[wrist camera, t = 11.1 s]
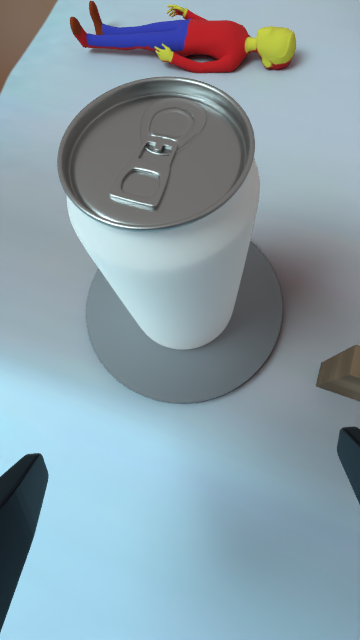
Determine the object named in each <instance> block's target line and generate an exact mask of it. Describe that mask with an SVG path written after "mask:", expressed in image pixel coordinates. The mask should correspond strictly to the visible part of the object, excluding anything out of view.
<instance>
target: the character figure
mask: <svg viewBox="0 0 360 640" xmlns="http://www.w3.org/2000/svg"><path fill="white" fill-rule="evenodd" d="M167 7H173V8H171V9H170V10H169V11H168V12H167V13H169V12H170V11H172V10H174V11H172V12H171V13H170V15H169V16H171V15H172V14H173V13H175V14H174V15H173V16H172V17H174V16H175V15H181V16H183V18H184V19H186V20H175V21H166V22H158V23H152V24H148V25H143V26H137V27H122V28H118V27H112V26H108V25H105V24H102V21H101V19H100V16H99V13H98V9H97V6H96V4H95V3H94V2H93V1H90V2H89V10H90V15H91V18H92V20H93V22H94V26H95V31H96V35H93V34H87V33H86V32H85V31H84V29H83V28H82V27H81V25H80V23H79V21H78V20H77V19H76V18H75V17H71V18H70V25H71V29H72V32H73V34H74V36H75V37H76V38H77V39H78V41H79V42H80V43H81V45H82V46H83V47H85V48H87V47H88V48H106V49H118V50H132V49H138V48H140V49H145V50H151V51H156V53H157V55H158V57H159V59H160V60H161V61H163V62H169V63H170V64H173V65H176V66H178V67H181V68H183V69H185V70H188V71H191V72H194V73H212V72H231V71H233V70H235V69H236V68H237V67H238V66H239V65H240V63H241V62H242V61H243V60H244V58H245V57H246V56H247V55H248V54H249V53H251V52H257V53H258V54H259V55H260V57H261V59H262V63H263V65H264V66H265V67H266V68H269V69H274V70H279V69H282V68H284V67H286V66H287V65H288V64H289V63H290V62H291V60H292V58H293V56H294V53H295V49H296V38H295V34H294V32H292V31H291V30H289V29H288V28H281V27H272V26H270V27H264V28H261V29H259V30H258V32H257V37H256V38H251V36H250V35H248V33H247V31H246V29H245V28H244V27H243V25H240V24H237V23H236V22H233V21H227V20H222V21H208V20H206V19H204V18H202V17H200V16H198V15H196V14H194V13H192V12H191V11H189V10H188V9H187V8H185V9H184V8H182V7H179V6H177V5H168V6H167ZM191 54H205V55H210V56H212V57H214V58H216V59H217V60H216V61H209V62H203V63H201V62H196V61H193V60H190V59H187V58H185V57H186V56H188V55H191ZM182 56H185V57H182Z"/></svg>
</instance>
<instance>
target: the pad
mask: <svg viewBox="0 0 360 640" xmlns="http://www.w3.org/2000/svg"><path fill="white" fill-rule="evenodd" d="M282 313H283V304H282V294H281V289H280V285H279V282H278V279H277V276H276V274H275V272H274V270H273V268H272V266H271V264H270V263H269V261H268V260H267V258H266V257H265V256H264V254H263V253H262V252H261V251H260V250H259V249H258V248H257V247H256V245H254V244H253V243H252V242H251V241H250V244H249V248H248V252H247V256H246V261H245V265H244V269H243V273H242V277H241V281H240V285H239V289H238V293H237V297H236V301H235V305H234V309H233V312H232V316H231V318H230V320H229V322H228V324H227V326H226V327H225V329H224V330H223V331H222V333H221V334H220V335H219V336H218V337H216V338H215V339H214V340H212V341H211V342H209V343H207V344H205V345H203V346H201V347H197V348H193V349H186V350H179V349H172V348H168V347H165V346H162V345H160V344H158V343H156V342H155V341H153V340H152V339H151V338H150V337H148V336H147V335H146V334H145V332H144V331H143V330H142V329H141V327H140V326H139V325H138V323H137V322H136V321H135V319H134V318H133V316H132V315H131V314H130V312H129V311H128V309H127V308H126V307H125V305H124V304H123V302H122V301H121V299H120V298H119V297H118V295H117V294H116V292H115V291H114V289H113V288H112V287H111V285H110V284H109V282H108V281H107V279H106V278H105V277H104V275H103V274H102V272H101V271H100V269H98V270H97V272H96V274H95V276H94V278H93V281H92V283H91V286H90V289H89V293H88V298H87V304H86V323H87V330H88V334H89V338H90V342H91V344H92V346H93V349H94V351H95V353H96V355H97V357H98V358H99V360H100V362H101V363H102V364H103V366H104V367H105V368H106V369H107V371H108V372H109V373H110V374H111V375H112V376H113V377H114V378H115V379H116V380H118V381H119V382H120V383H122V384H123V385H124V386H126V387H127V388H129V389H130V390H132V391H134V392H136V393H138V394H140V395H142V396H145V397H148V398H151V399H154V400H157V401H162V402H167V403H180V404H186V403H198V402H202V401H207V400H211V399H214V398H217V397H219V396H222V395H225V394H226V393H228V392H230V391H232V390H234V389H236V388H237V387H239V386H240V385H241V384H243V383H244V382H246V381H247V380H248V379H249V378H250V377H251V376H252V375H253V374H254V373H255V372H256V371H258V369H259V368H260V367H261V366H262V364H263V363H264V362H265V361H266V359H267V358H268V356H269V354H270V353H271V351H272V349H273V348H274V345H275V343H276V340H277V338H278V335H279V331H280V327H281V323H282Z"/></svg>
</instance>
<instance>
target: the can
mask: <svg viewBox="0 0 360 640" xmlns="http://www.w3.org/2000/svg"><path fill="white" fill-rule="evenodd" d="M254 152H255V139H254V132H253V128H252V125H251V123H250V120H249V118H248V116H247V115H246V113H245V112H244V110H243V109H242V108H241V106H240V105H239V104H238V103H237V102H236V101H235V100H234V99H233V98H232V97H230V96H229V95H228V94H226V93H225V92H223V91H222V90H220V89H218V88H216V87H214V86H212V85H210V84H207V83H204V82H201V81H198V80H194V79H189V78H182V77H153V78H146V79H141V80H137V81H133V82H130V83H126V84H123V85H121V86H118V87H116V88H114V89H112V90H110V91H108V92H106V93H104V94H102V95H101V96H99V97H97V98H96V99H95V100H93V101H92V102H90V103H89V104H88V105H87V106H86V107H85V108H83V109H82V110H81V111H80V112H79V113H78V115H77V116H76V117H75V118H74V119H73V121H72V122H71V123H70V125H69V126H68V128H67V130H66V131H65V133H64V136H63V138H62V140H61V143H60V147H59V151H58V158H57V167H58V174H59V178H60V182H61V184H62V187H63V189H64V191H65V193H66V194H67V206H68V213H69V217H70V220H71V223H72V225H73V228H74V230H75V232H76V234H77V236H78V238H79V239H80V241H81V242H82V244H83V246H84V247H85V249H86V250H87V252H88V253H89V255H90V256H91V258H92V259H93V261H94V262H95V263H96V265H97V266H98V268H99V269H100V271H101V272H102V274H103V275H104V277H105V278H106V279H107V281H108V282H109V284H110V285H111V287H112V288H113V289H114V291H115V292H116V294H117V295H118V297H119V298H120V299H121V301H122V302H123V304H124V305H125V307H126V308H127V309H128V311H129V312H130V314H131V315H132V316H133V318H134V319H135V321H136V322H137V323H138V325H139V326H140V327H141V329H142V330H143V331H144V332H145V334H146V335H147V336H148V337H150V338H151V339H152V340H153V341H155V342H156V343H158V344H160V345H162V346H165V347H168V348H172V349H179V350H186V349H193V348H197V347H201V346H203V345H205V344H207V343H209V342H211V341H212V340H214V339H215V338H216V337H218V336H219V335H220V334H221V333H222V331H223V330H224V329H225V327H226V326H227V324H228V322H229V320H230V318H231V316H232V312H233V309H234V305H235V301H236V297H237V293H238V289H239V285H240V281H241V277H242V273H243V269H244V265H245V261H246V256H247V252H248V248H249V244H250V240H251V235H252V231H253V227H254V222H255V218H256V213H257V207H258V202H259V192H260V180H259V173H258V169H257V165H256V162H255V159H254Z"/></svg>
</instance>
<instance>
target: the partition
mask: <svg viewBox="0 0 360 640" xmlns="http://www.w3.org/2000/svg"><path fill="white" fill-rule="evenodd" d="M316 386H317V387H320V388H323V389H326V390H329V391H331V392H334V393H337V394H340V395H343V396H346V397H349V398H352V399H355V400H357V401H360V346H358V345H354V346H352V347H351V348H349V349H347V350H345V351H343V352H341V353H339V354H337V355H335V356H333V357H332V358H330V359H328V360H326V361H324V362H322V363H321V367H320V371H319V375H318V379H317V384H316Z"/></svg>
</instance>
